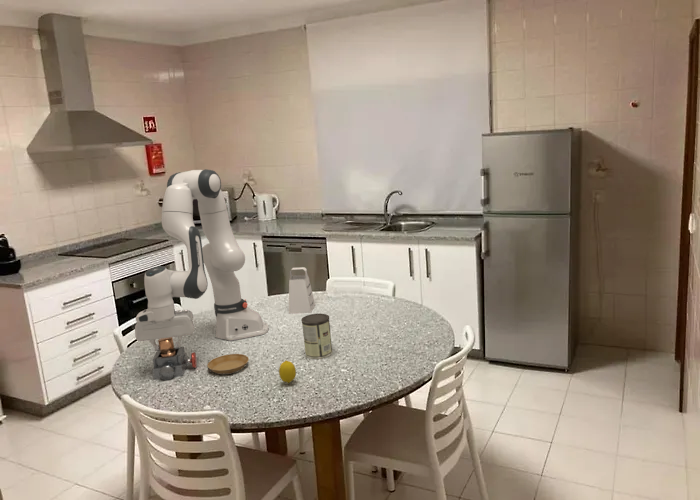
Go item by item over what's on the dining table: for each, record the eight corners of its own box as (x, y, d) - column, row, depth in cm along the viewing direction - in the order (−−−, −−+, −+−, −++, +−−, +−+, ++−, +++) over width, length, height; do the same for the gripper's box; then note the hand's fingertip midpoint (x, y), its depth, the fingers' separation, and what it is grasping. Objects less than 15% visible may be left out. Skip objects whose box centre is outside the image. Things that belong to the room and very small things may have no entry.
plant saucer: (214, 361, 213) (213, 354, 212) (253, 358, 212) (252, 352, 211) (203, 378, 198) (202, 371, 198) (244, 375, 197) (243, 368, 197)
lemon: (280, 380, 191) (278, 358, 189) (297, 378, 191) (294, 356, 189) (280, 387, 185) (277, 365, 184) (297, 385, 186) (294, 363, 184)
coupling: (177, 356, 208) (173, 335, 207) (175, 360, 203) (170, 339, 202) (164, 359, 208) (159, 338, 207) (161, 363, 203) (156, 342, 202)
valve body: (161, 364, 214) (158, 346, 212) (199, 359, 215) (196, 341, 214) (152, 382, 198) (149, 363, 197) (193, 376, 200) (190, 358, 198)
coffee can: (311, 347, 217) (307, 312, 214) (336, 349, 214) (333, 313, 211) (300, 358, 208) (296, 322, 205) (326, 360, 204) (323, 323, 202)
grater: (293, 306, 271) (289, 266, 267) (315, 305, 269) (311, 265, 265) (288, 313, 261) (284, 271, 256) (310, 313, 259) (306, 270, 255)
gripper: (193, 306, 206) (198, 341, 209) (135, 313, 204) (141, 349, 206) (190, 311, 200) (196, 348, 203) (130, 318, 197) (137, 355, 200)
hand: (167, 348), depth 205 cm, fingers open, 6 cm apart
